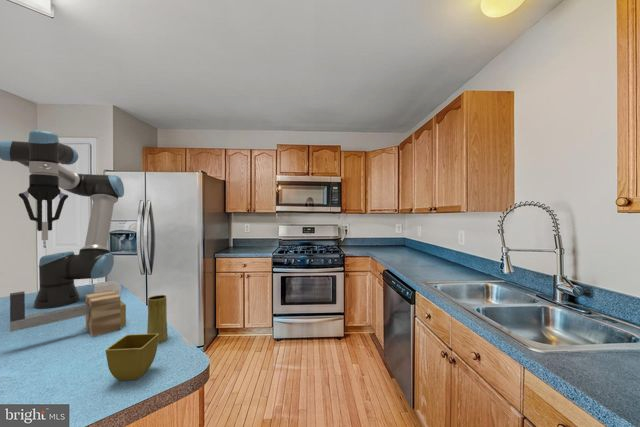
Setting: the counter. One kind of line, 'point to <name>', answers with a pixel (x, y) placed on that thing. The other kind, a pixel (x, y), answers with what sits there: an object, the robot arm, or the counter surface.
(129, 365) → the flower pot
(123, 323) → the collar
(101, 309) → the block
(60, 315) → the shaft
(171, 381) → the counter surface
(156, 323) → the vase
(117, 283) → the cup
